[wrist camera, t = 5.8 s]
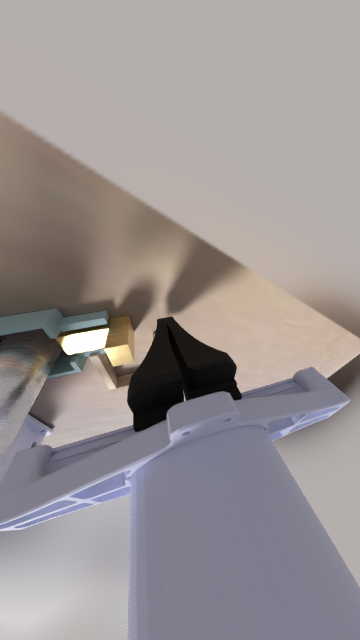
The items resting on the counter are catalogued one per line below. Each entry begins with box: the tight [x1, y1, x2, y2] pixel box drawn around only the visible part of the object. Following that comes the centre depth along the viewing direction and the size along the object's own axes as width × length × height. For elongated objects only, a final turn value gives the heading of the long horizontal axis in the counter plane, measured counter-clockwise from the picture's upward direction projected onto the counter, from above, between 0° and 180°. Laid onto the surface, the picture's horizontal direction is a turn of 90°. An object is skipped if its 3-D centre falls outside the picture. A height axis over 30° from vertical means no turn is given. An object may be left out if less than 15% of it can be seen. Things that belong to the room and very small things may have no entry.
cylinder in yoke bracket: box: [0, 328, 63, 454], centre depth 10 cm, size 4×4×8 cm
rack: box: [89, 333, 155, 393], centre depth 16 cm, size 6×7×2 cm
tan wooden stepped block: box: [55, 316, 134, 367], centre depth 12 cm, size 2×6×4 cm, turn 93°
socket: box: [0, 308, 109, 380], centre depth 11 cm, size 6×10×4 cm, turn 93°
